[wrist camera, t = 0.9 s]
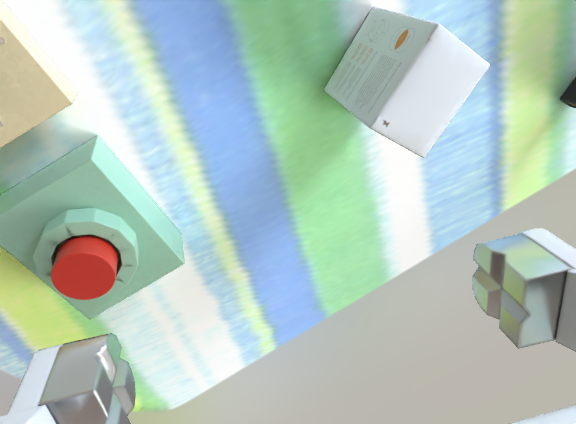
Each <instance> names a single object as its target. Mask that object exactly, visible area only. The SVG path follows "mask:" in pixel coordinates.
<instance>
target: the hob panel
mask: <svg viewBox="0 0 576 424" xmlns="http://www.w3.org/2000/svg"><path fill="white" fill-rule="evenodd" d="M77 93H78V91H77V90H76V89H75V88H74V86H73V85H72V84H71V83H70V81H69V80H68V79H67V78H66V77H65V75H64V74H63V73H62V72H61V71H60V69H59V68H58V67H57V66H56V65H55V63H54V62H53V61H52V60H51V58H50V57H49V56H48V55H47V54H46V52H45V51H44V50H43V49H42V48H41V46H40V45H39V44H38V43H37V42H36V40H35V39H34V38H33V37H32V36H31V34H30V33H29V32H28V31H27V29H26V28H25V27H24V26H23V25H22V23H21V22H20V21H19V20H18V19H17V17H16V16H15V15H14V14H13V13H12V11H11V10H10V9H9V8H8V6H7V5H6V4H5V3H4V2H3V0H0V148H1V147H3V146H5V145H6V144H8V143H9V142H11V141H13V140H14V139H16V138H17V137H19V136H21V135H22V134H24V133H26V132H27V131H29V130H30V129H32V128H34V127H35V126H37V125H38V124H40V123H42V122H43V121H45V120H47V119H48V118H50V117H51V116H53V115H55V114H56V113H58V112H59V111H61V110H63V109H64V108H66V107H68V106H69V105H71V104H72V103H73V101H74V99H75V97H76V95H77Z"/></svg>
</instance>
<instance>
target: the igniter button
mask: <svg viewBox="0 0 576 424" xmlns="http://www.w3.org/2000/svg"><path fill="white" fill-rule="evenodd" d="M117 263H118V256H117V253H116V250H115V249H114V247H113V246H112V245H111V244H110V243H108V242H107V241H105V240H104V239H101V238H99V237H95V236H78V237H74V238H72V239H70V240H68V241H66V242H65V243H64V244H63V245H62V246H61V247H60V248H59V250H58V252H57V255H56V258H55V262H54V265H53V268H52V272H51V279H52V282H53V285H54V286H55V288H56V289H57V290H58V291H59V292H60V293H62V294H63V295H65V296H67V297H70V298H73V299H78V300H90V299H95V298H98V297H101V296H103V295H104V294H106V293H107V292H108V291H109V290H110V289H111V288H112V287H113V285H114V283H115V280H116V272H117Z"/></svg>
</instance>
